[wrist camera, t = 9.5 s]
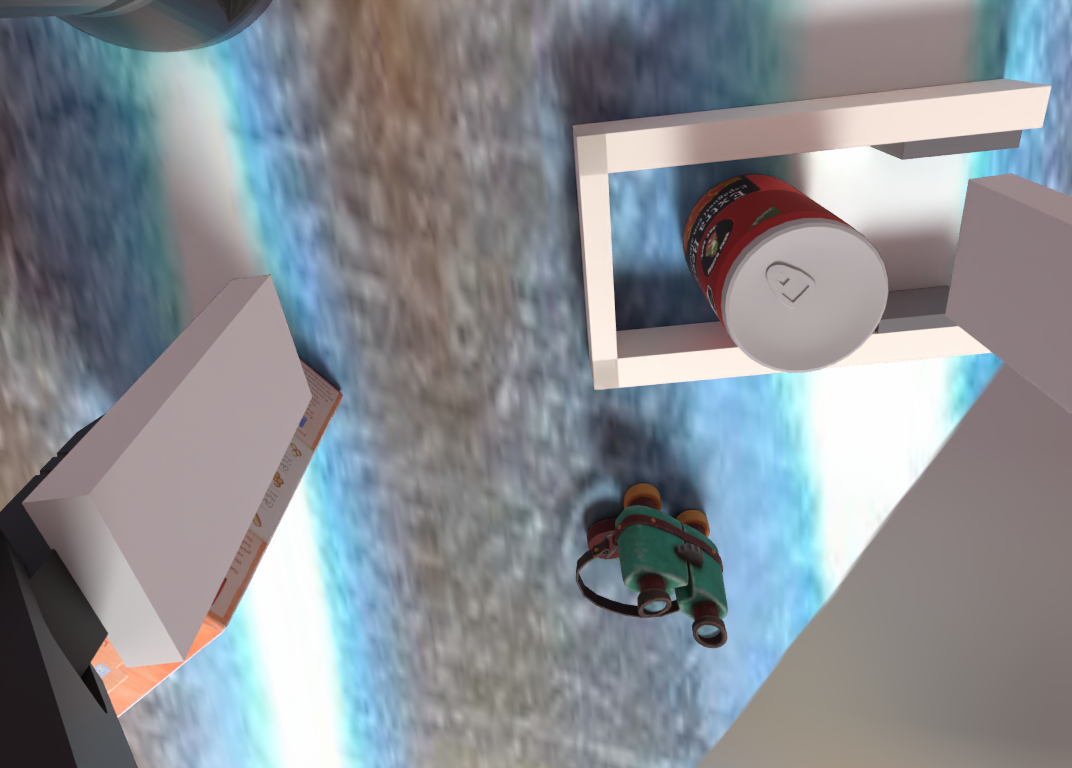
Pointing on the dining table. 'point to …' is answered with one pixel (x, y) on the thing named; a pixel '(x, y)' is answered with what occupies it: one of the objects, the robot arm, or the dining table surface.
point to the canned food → (784, 274)
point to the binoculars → (662, 564)
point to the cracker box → (139, 681)
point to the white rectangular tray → (768, 130)
